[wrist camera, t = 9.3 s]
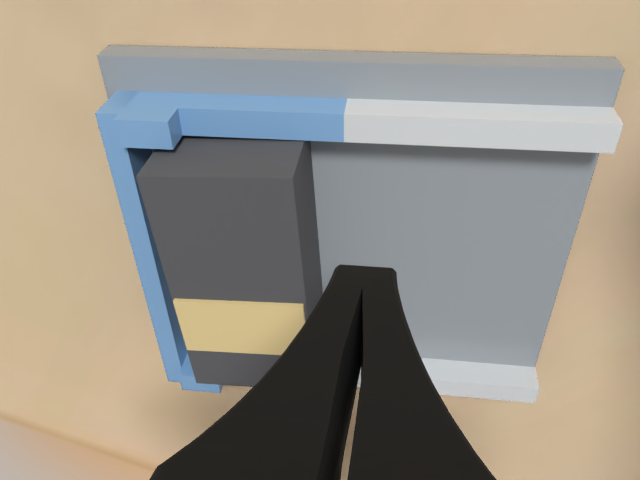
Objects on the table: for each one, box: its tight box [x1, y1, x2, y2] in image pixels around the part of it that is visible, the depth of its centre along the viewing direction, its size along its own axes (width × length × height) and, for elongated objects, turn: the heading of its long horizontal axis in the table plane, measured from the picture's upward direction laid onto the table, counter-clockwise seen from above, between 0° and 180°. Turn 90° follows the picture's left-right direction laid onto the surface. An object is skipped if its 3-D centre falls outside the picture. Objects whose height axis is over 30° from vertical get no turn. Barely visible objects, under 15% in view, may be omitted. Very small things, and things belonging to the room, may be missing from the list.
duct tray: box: [95, 45, 625, 403], centre depth 24 cm, size 17×16×3 cm
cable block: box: [136, 135, 323, 387], centre depth 23 cm, size 5×10×4 cm, turn 4°
